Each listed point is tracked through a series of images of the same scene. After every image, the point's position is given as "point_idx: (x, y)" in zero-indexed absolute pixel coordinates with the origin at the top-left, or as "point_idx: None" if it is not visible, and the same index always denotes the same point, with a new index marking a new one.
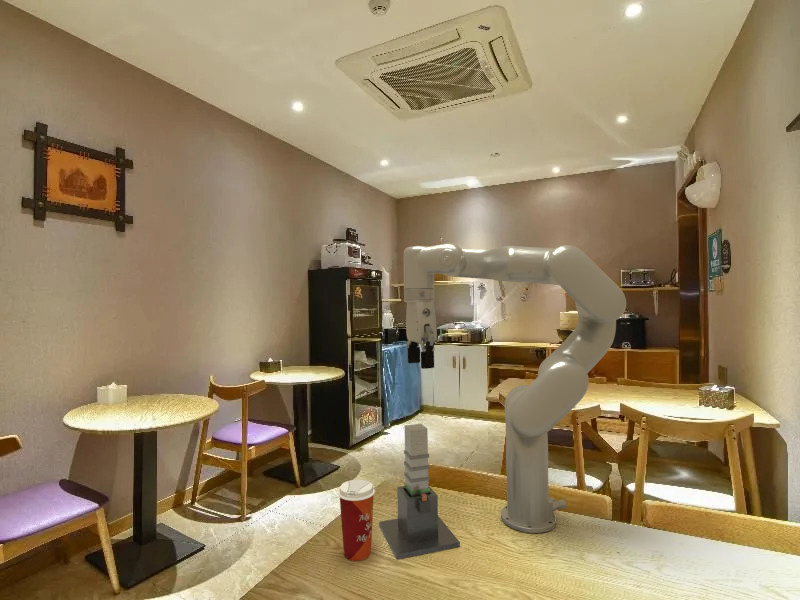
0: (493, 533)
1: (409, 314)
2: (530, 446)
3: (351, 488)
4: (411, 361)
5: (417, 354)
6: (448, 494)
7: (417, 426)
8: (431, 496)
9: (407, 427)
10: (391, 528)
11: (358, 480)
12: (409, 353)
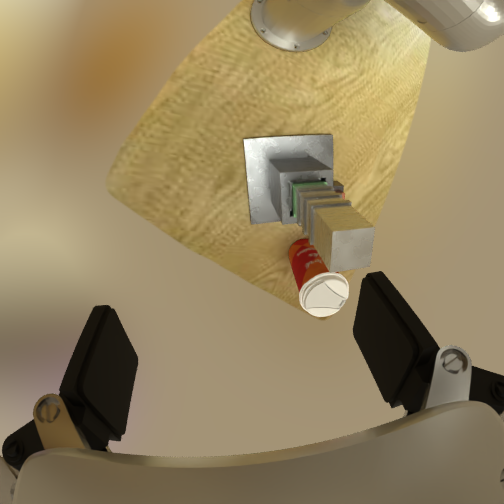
0: (313, 78)
1: None
2: None
3: (331, 304)
4: (132, 355)
5: (104, 360)
6: (172, 98)
7: (351, 245)
8: (332, 179)
9: (347, 268)
10: (274, 211)
11: (310, 296)
12: (126, 404)
